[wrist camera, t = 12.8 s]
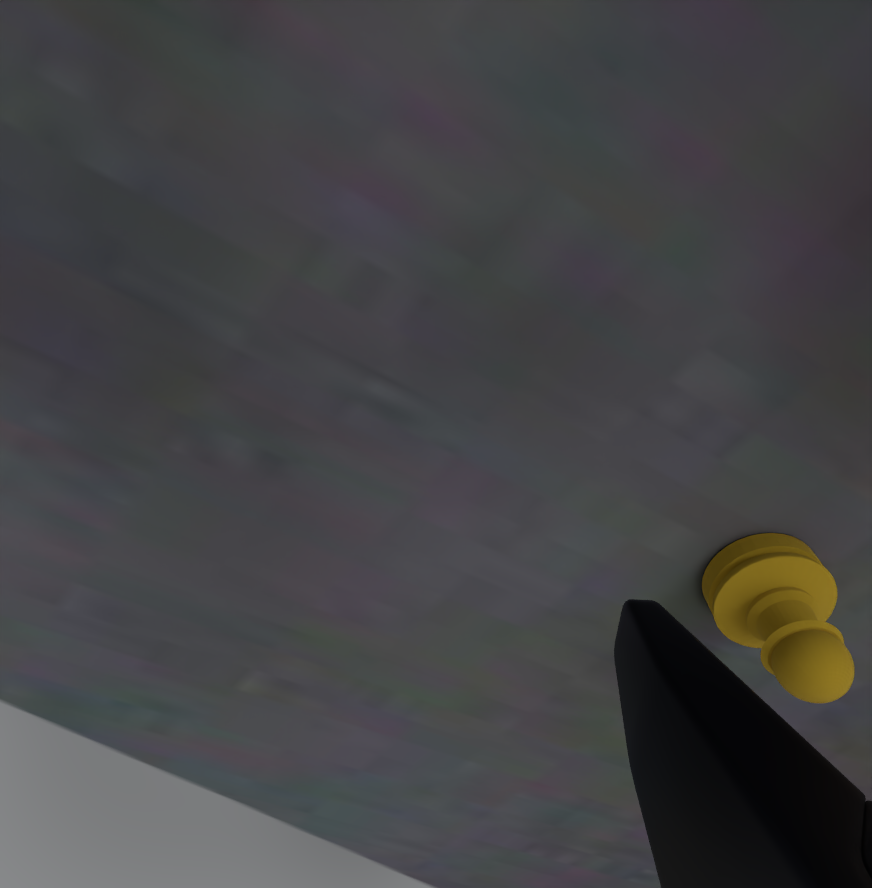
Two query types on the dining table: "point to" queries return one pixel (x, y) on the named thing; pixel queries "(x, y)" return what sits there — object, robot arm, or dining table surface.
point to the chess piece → (781, 612)
